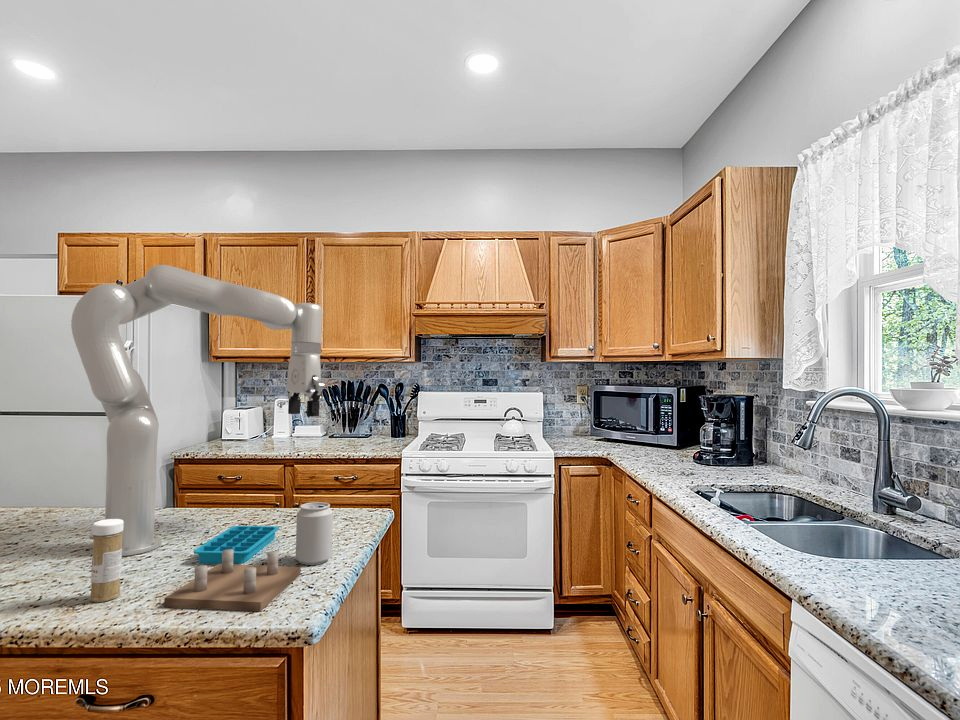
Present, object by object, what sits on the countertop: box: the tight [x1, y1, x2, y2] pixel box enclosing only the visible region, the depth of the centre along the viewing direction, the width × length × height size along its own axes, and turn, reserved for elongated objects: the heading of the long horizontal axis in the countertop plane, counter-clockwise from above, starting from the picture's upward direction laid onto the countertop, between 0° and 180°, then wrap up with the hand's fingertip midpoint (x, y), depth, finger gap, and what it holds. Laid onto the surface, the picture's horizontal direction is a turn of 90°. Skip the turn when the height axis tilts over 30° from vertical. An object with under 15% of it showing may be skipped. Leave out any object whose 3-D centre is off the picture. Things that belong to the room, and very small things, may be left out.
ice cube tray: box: [193, 525, 280, 565], centre depth 123 cm, size 12×20×3 cm, turn 1°
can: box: [295, 501, 334, 566], centre depth 117 cm, size 8×8×12 cm
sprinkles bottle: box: [89, 519, 124, 603], centre depth 96 cm, size 5×5×13 cm
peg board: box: [163, 549, 302, 612], centre depth 100 cm, size 17×17×6 cm
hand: (303, 415), depth 142 cm, fingers open, 9 cm apart
